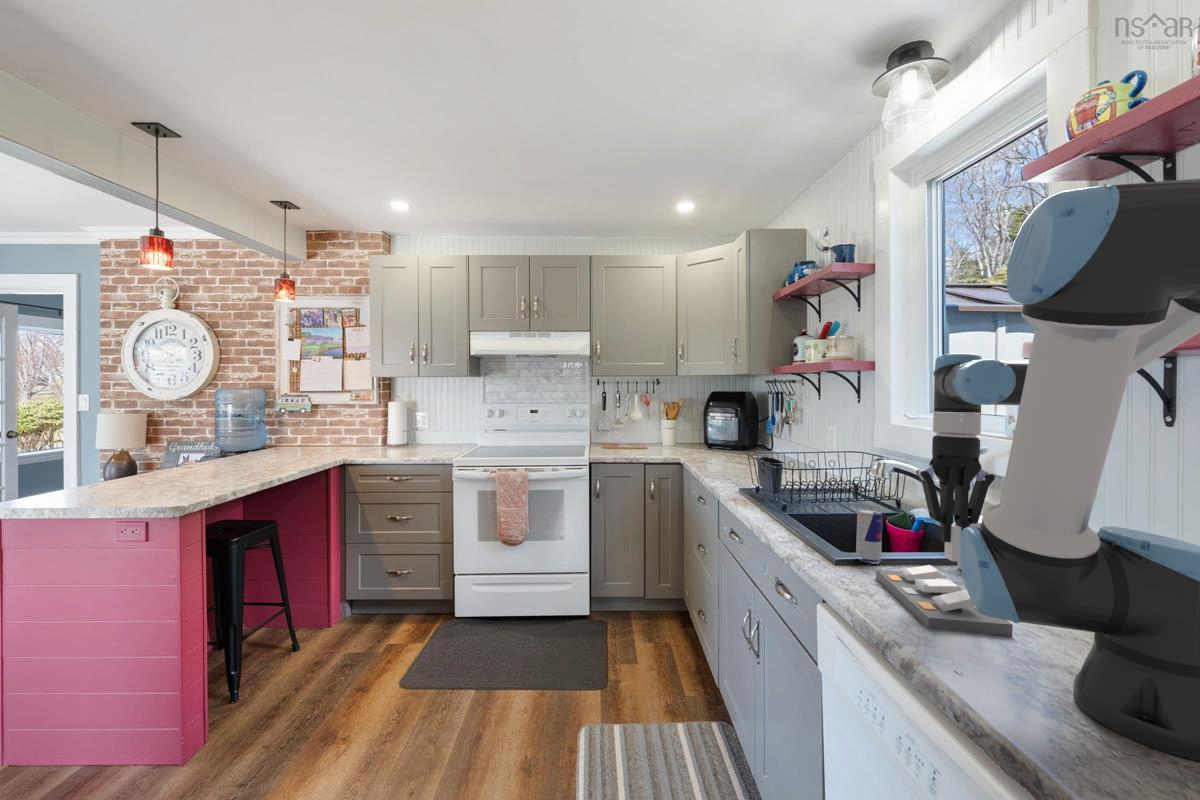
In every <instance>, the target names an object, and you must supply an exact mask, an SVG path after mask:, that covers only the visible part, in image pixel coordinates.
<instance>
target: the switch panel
mask: <svg viewBox="0 0 1200 800" xmlns="http://www.w3.org/2000/svg"><path fill="white" fill-rule="evenodd" d="M939 575H940V577H935V578H928V579H948V580H950V579H949V578H947V577H946V576H945V575H943V574H942V573H939ZM875 579H876V581H878V582H879V583H880V584H881V585H882V586H883V587H884V588H885V589H886V590H887V591H888V592H889V593H890V594H891V595H892V596H893V597H894V598H895V599H896V600H898V602H899V603H901V604H902V605H903V606H904V607H905V608H906V609H907V611H909V612H910V613H911V614H912V615H913V616H914V617H915V618H916V619H917V620H918V621H919V622H920V623H921V624H922V625H923V626H924V627H926V629H928V630H935V631H945V632H956V633H957V632H958V633H968V634H980V635H981V634H982V635H992V636H1006V637H1013V630H1014V629H1013V627H1014V625H1013V624H1012V623H1011V621H1009V620H1003V619H998V618H992V617H989V616H986V615H984V614H983V613H981V612H980V611H979V610H978V609H977V608H976V607H975V605H972V606H968V607H963V608H959V609H954V610H950V611H945V612H943V611H942V610H941V609H940V608H939V607H938V606H936V605H935V604H934V602H933V599H932V597H934V596H939V595H944V594H948V593H940V592H923V591H921V590H920V589H919V588H918V587H917V586H915V580H913V581H907V580H906V579H905V578H904V577H903V576H902V575H901V573H900V570H888V569H887V570H885V569H876V570H875ZM950 581H951V582H952V583H954V584H955V585H957V583H955V582H953V581H952V580H950ZM957 586H958V591H961V590H964V589H963V588H962V587H960V586H959V585H957Z"/></svg>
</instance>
